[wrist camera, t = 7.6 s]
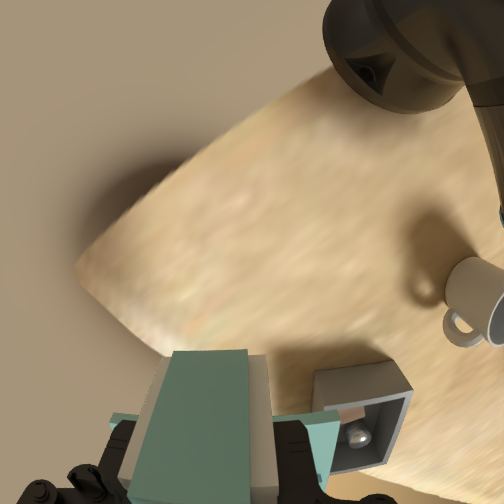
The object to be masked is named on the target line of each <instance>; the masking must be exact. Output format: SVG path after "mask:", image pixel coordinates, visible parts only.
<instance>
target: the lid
mask: <svg viewBox="0 0 504 504" xmlns="http://www.w3.org/2000/svg"><path fill="white" fill-rule="evenodd" d="M138 417H139V415H131V414H122V413H113V415H112V417H111V419H110V422H109V424H110V426H111V428H112V430H113V429H114V427H115V426H116V425H117V424H118V423H119V422H120V421H121V420H122V419H123V420H132V421H137V420H138ZM291 420H300V421H301V422H302V423H303V424H304V426H305V427H306V428H307V429H308V434H309V439H310V443H311V448H312V453H313V458H314V462H315V467H316V472H317V477H318V482H319V485H320V487H321V489H322V490H323V492H324V493H325V489H326V485H327V481H328V477H329V473H330V469H331V465H332V460H333V456H334V451H335V447H336V442H337V437H338V432H339V427H340V421H341V420H340V417H339V414H338V411H337V409H336V410H329V411H321V412H313V413H304V414H295V415H284V416H272V421H273V422H279V421H291ZM127 497H128V499H129V500H130V501H131V503H132V504H253V500H252V493H251V472H250V424H249V368H248V349H242V350H214V351H173V354H172V357H171V360H170V363H169V366H168V369H167V371H166V374H165V377H164V380H163V383H162V386H161V389H160V392H159V395H158V398H157V401H156V404H155V407H154V410H153V413H152V416H151V419H150V422H149V425H148V428H147V431H146V434H145V437H144V440H143V444H142V447H141V450H140V453H139V456H138V459H137V463H136V466H135V469H134V472H133V476H132V479H131V482H130V486H129V489H128V493H127Z"/></svg>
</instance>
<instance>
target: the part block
mask: <svg viewBox="0 0 504 504" xmlns="http://www.w3.org/2000/svg"><path fill="white" fill-rule="evenodd" d="M337 411H338V414H339V417H340V420H341V421H340V423H341V425H342V424H345V423H348V422H351V421H354V420H357V419H359V418H362V417H365V411H364V406H359V407H353V408H347V409H341V410H337Z"/></svg>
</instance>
